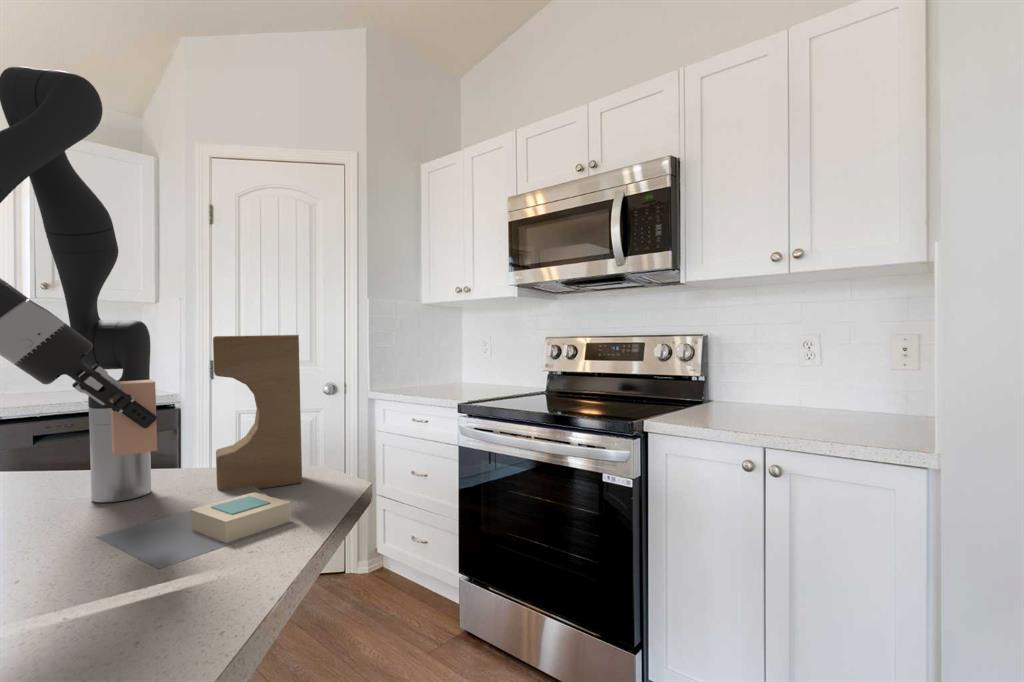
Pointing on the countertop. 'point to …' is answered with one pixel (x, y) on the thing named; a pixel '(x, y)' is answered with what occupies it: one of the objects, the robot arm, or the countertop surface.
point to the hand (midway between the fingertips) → (148, 420)
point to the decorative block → (263, 411)
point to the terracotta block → (125, 430)
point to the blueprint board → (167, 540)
